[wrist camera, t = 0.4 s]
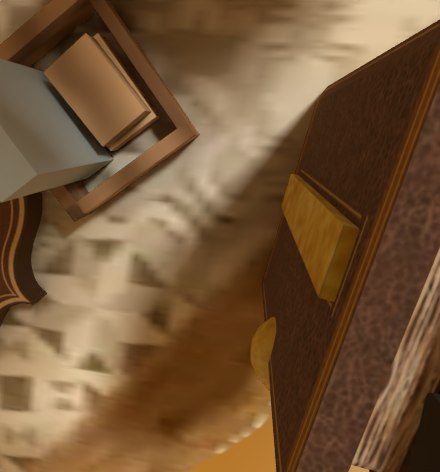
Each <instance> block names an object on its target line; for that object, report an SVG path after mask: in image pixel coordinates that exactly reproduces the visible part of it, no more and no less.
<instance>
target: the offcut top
mask: <svg viewBox="0 0 440 472" xmlns="http://www.w3.org/2000/svg"><path fill="white" fill-rule="evenodd" d="M43 73H44V74H45V75H46V77H47V78H48V79H49V80H50V82H51V83H52V84H53V85H54V87H55V88H56V89H57V90H58V92H59V93H60V94H61V95H62V97H63V98H64V99H65V100H66V102H67V103H68V104H69V105H70V107H71V108H72V109H73V110H74V112H75V113H76V114H77V115H78V117H79V118H80V119H81V120H82V122H83V123H84V124H85V125H86V127H87V128H88V129H89V130H90V132H91V133H92V134H93V135H94V136H95V138H96V139H97V140H98V141H99V143H100V144H101V145H102V146H112V145H113V144H114V143H115V142H116V141H118V140H119V139H120V138H121V137H122V136H123V135H125V134H126V133H127V132H128V131H129V130H131V129H132V128H133V127H134V126H135V125H137V124H138V123H139V122H140V121H141V120H142V119H144V118H145V117H146V116H147V115H148V114H150V113H151V110H150V109H149V108H148V106H147V105H146V104H145V103H144V101H143V100H142V99H141V97H140V96H139V95H138V93H137V92H136V91H135V90H134V88H133V87H132V86H131V84H130V83H129V82H128V80H127V79H126V78H125V77H124V75H123V74H122V73H121V71H120V70H119V69H118V67H117V66H116V65H115V64H114V62H113V61H112V60H111V58H110V57H109V56H108V54H107V53H106V52H105V51H104V49H103V48H102V47H101V45H100V44H99V43H98V41H97V40H96V39H95V38H93V37H91V36H90V35H88V34H86V33H85V34H84V35H83V36H82V37H81V38H80V39H79V40H77V41H76V42H75V43H74V44H73V45H72V46H71V47H70V48H69V49H68V50H67V51H66V52H65V53H63V54H62V55H61V56H60V57H59V58H58V59H57V60H56V61H55V62H54V63H53V64H52V65H51V66H50V67H48V68H47V69H46V70H45V71H44V72H43Z"/></svg>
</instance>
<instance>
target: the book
mask: <svg viewBox="0 0 440 472" xmlns="http://www.w3.org/2000/svg"><path fill="white" fill-rule="evenodd" d="M281 208H282V211H283V215H282V219H281V222H280V225H279V229H278V232H277V235H276V239H275V242H274V245H273V248H272V252H271V255H270V258H269V262H268V265H267V268H266V272H265V275H264V278H263V282H262V291H263V304H264V317H265V322H264V323H263V324H261V325H260V326H259V327H258V329H257V331H256V332H255V334H254V336H253V337H252V339H251V364H252V366H253V369H254V371H255V374H256V376H257V377H258V379H259V380H260V381H261V382H262V383H263V384H264V385H265V387H266V388H267V389H268V390H269V391H270V394H271V407H272V419H273V433H274V446H275V459H276V472H348V471H349V469H350V466H351V465H354V466H358V467H362V468H365V469H369V471H370V472H409V469H410V464H411V460H412V455H413V451H414V446H415V442H416V437H417V433H418V428H419V424H420V419H421V415H422V410H423V406H424V401H425V398H426V395H427V394H428V393H434V391H435V389H436V388H437V387H439V386H440V20H438V21H437V22H435V23H433V24H432V25H430V26H428V27H427V28H425V29H423V30H422V31H420V32H418V33H416V34H415V35H413V36H411V37H410V38H408V39H406V40H405V41H403V42H401V43H400V44H398V45H396V46H395V47H393V48H391V49H390V50H388V51H386V52H385V53H383V54H381V55H380V56H378V57H376V58H375V59H373V60H371V61H370V62H368V63H366V64H364V65H363V66H361V67H359V68H358V69H356V70H354V71H353V72H351V73H349V74H348V75H346V76H344V77H343V78H341V79H339V80H338V81H336V82H334V83H333V84H331V85H329V86H328V87H327V88H326V90H325V91H324V92H323V93H322V95H321V96H320V97H319V99H318V100H317V103H316V106H315V109H314V112H313V116H312V119H311V122H310V126H309V129H308V132H307V136H306V139H305V142H304V146H303V149H302V152H301V156H300V159H299V162H298V166H297V169H296V172H295V174H293V173H291V176H290V179H289V182H288V186H287V189H286V192H285V196H284V199H283V202H282V206H281Z"/></svg>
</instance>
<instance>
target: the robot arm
mask: <svg viewBox="0 0 440 472" xmlns="http://www.w3.org/2000/svg"><path fill="white" fill-rule="evenodd" d="M409 472H440V386H439V387H437V388H436V389H435V391H434V393H428V394H427V395H426V398H425V401H424V406H423V410H422V415H421V419H420V424H419V428H418V433H417V437H416V442H415V446H414V451H413V455H412V460H411V464H410V469H409Z"/></svg>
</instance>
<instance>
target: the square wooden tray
mask: <svg viewBox="0 0 440 472" xmlns="http://www.w3.org/2000/svg"><path fill="white" fill-rule="evenodd" d="M96 11H97V12H98V14H99V15H100V17H101V18H102V20H103V21H104V23H105V24H106V26H107V27H108V28H109V30H110V31H111V33H112V34H113V36H114V37H115V39H116V40H117V42H118V43H119V44H120V46H121V47H122V49H123V50H124V52H125V53H126V55H127V56H128V58H129V59H130V61H131V62H132V63H133V65H134V66H135V68H136V69H137V71H138V72H139V74H140V75H141V77H142V78H143V79H144V81H145V82H146V84H147V85H148V87H149V88H150V90H151V91H152V93H153V94H154V96H155V97H156V98H157V100H158V101H159V103H160V104H161V106H162V107H163V109H164V110H165V112H166V113H167V114H168V116H169V117H170V119H171V120H172V122H173V123H174V125H175V126H176V128H177V129H176V130H174V131H173V132H172V133H170V134H169V135H168V136H166V137H165V138H163V139H162V140H161V141H159V142H158V143H157V144H155V145H154V146H153V147H151V148H150V149H148V150H147V151H146V152H144V153H143V154H142V155H140V156H139V157H138V158H136V159H135V160H133V161H132V162H131V163H129V164H128V165H127V166H125V167H124V168H123V169H121V170H120V171H118V172H117V173H116V174H114V175H113V176H112V177H110V178H109V179H107V180H106V181H105V182H103V183H102V184H101V185H99V186H98V187H97V188H95V189H94V190H92V191H91V192H90V193H89V192H88V191H87V190H86V188H85V187H84V186H83V184H82V183H81V182H80V181H76V182H72V183H69V184H65V185H62V186H58V187H55V188H51V189H50V190H51V191H52V193H53V194H54V195H55V197H56V198H57V199H58V201H59V202H60V203H61V204H62V206H63V207H64V208H65V210H66V211H67V212H68V214H69V215H70V216H71V218H72V219H73V220H74V221H76V220H78V219H80V218H82V217H84V216H86V215H88V214H90V213H91V212H93V211H94V210H96V209H97V208H98V207H100V206H101V205H102V204H104V203H105V202H107V201H108V200H109V199H111V198H112V197H114V196H115V195H116V194H118V193H119V192H121V191H122V190H123V189H125V188H126V187H128V186H129V185H130V184H132V183H133V182H134V181H136V180H137V179H139V178H140V177H141V176H143V175H144V174H146V173H147V172H148V171H150V170H151V169H153V168H154V167H155V166H157V165H158V164H159V163H161V162H162V161H164V160H165V159H166V158H168V157H169V156H171V155H172V154H173V153H175V152H176V151H178V150H179V149H180V148H182V147H183V146H185V145H186V144H187V143H189V142H190V141H191V140H193V139H194V138H196V137H197V136H198V135H199V133H198V132H197V130H196V129H195V127H194V126H193V124H192V123H191V121H190V120H189V118H188V117H187V115H186V114H185V112H184V111H183V110H182V108H181V107H180V105H179V104H178V102H177V101H176V99H175V98H174V96H173V95H172V93H171V92H170V90H169V89H168V87H167V86H166V84H165V83H164V81H163V80H162V79H161V77H160V76H159V74H158V73H157V71H156V70H155V68H154V67H153V65H152V64H151V62H150V61H149V59H148V58H147V56H146V55H145V53H144V52H143V51H142V49H141V48H140V46H139V45H138V43H137V42H136V40H135V39H134V37H133V36H132V34H131V33H130V31H129V30H128V28H127V27H126V25H125V24H124V22H123V21H122V20H121V18H120V17H119V15H118V14H117V12H116V11H115V9H114V8H113V6H112V5H111V3H110V2H109V1H108V0H51V1H50V2H49V3H48V4H47V5H46V6H44V7H43V8H42V9H41V10H40V11H39V12H37V13H36V14H35V15H34V16H33V17H32V18H31V19H29V20H28V21H27V22H26V23H25V24H24V25H23V26H21V27H20V28H19V29H18V30H17V31H16V32H14V33H13V34H12V35H11V36H10V37H9V38H8V39H6V40H5V41H4V42H3V43H2V44H1V45H0V59H3V60H6V61H10V62H13V63H17V64H20V65H23V66H27V67H31V66H32V65H33V64H34V63H35V62H37V61H38V60H39V59H40V58H41V57H42V56H44V55H45V54H46V53H47V52H48V51H50V50H51V49H52V48H53V47H54V46H56V45H57V44H58V43H59V42H60V41H62V40H63V39H64V38H65V37H66V36H68V35H69V34H70V33H71V32H72V31H74V30H75V29H76V28H77V27H78V26H79V25H81V24H82V23H83V22H84V21H85V20H87V19H88V18H89V17H90V16H91V15H93V14H94V13H95V12H96Z"/></svg>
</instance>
